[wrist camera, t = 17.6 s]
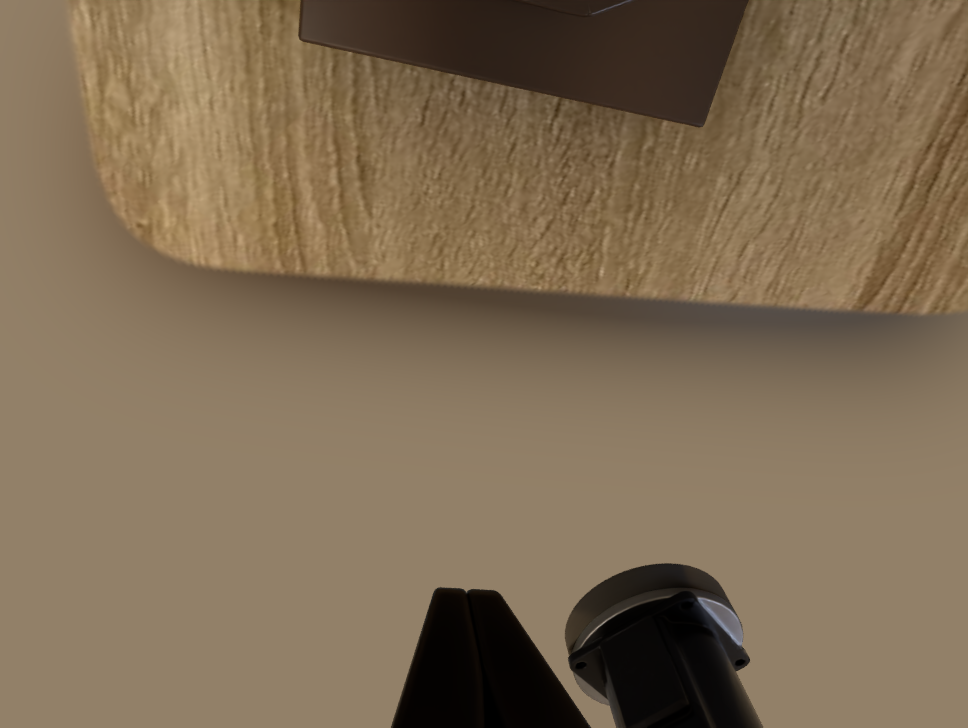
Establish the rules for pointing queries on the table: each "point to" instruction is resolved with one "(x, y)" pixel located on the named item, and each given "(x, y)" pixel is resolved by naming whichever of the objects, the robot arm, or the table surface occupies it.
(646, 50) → the button block
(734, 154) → the table surface
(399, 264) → the table surface
